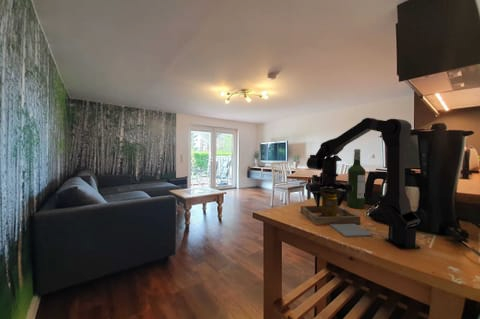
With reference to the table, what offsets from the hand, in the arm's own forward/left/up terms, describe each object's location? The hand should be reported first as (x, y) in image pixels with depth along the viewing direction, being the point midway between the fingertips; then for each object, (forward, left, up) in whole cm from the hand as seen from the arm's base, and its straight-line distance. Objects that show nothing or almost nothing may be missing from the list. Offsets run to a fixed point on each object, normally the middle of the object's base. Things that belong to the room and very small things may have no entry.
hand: (328, 206), depth 87 cm
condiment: (0, 0, -5) cm, 5 cm away
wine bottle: (+15, -23, -5) cm, 28 cm away
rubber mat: (-14, -1, -5) cm, 15 cm away
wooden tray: (0, 0, -5) cm, 5 cm away
